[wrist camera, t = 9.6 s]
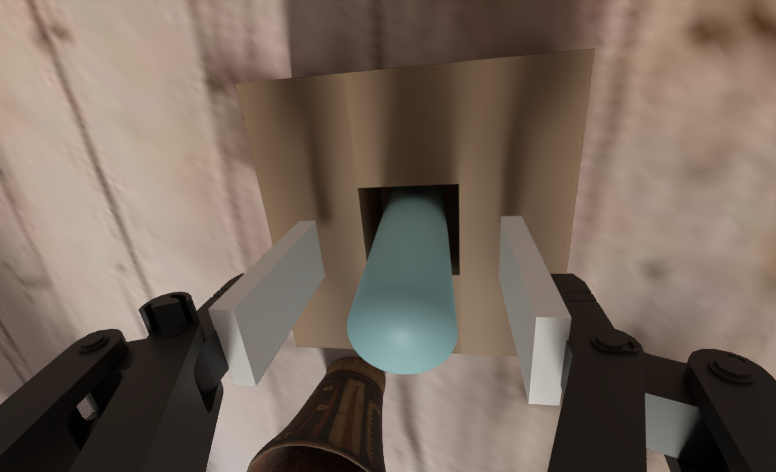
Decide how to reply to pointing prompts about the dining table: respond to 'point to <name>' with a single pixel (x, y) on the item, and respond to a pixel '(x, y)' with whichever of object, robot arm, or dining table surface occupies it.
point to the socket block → (423, 171)
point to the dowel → (407, 287)
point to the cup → (333, 426)
